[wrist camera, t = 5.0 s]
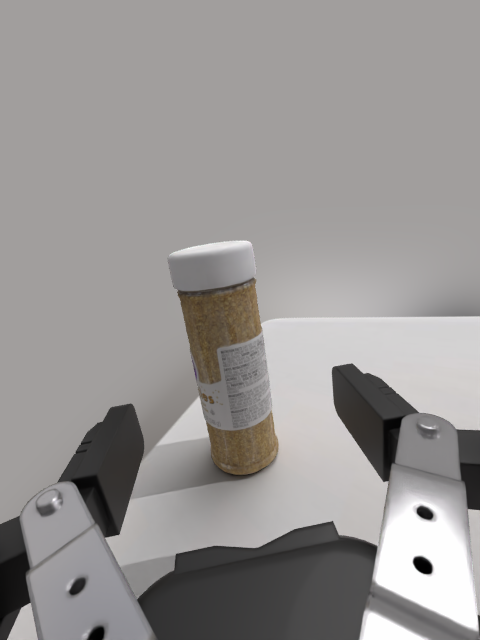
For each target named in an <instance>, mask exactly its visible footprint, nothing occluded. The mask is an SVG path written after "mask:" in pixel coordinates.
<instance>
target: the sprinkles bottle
mask: <svg viewBox="0 0 480 640" xmlns="http://www.w3.org/2000/svg"><path fill="white" fill-rule="evenodd" d="M168 264H169V269H170V274H171V278H172V283H173V287H174V288H175V289H177V290H178V292H177V293H178V296H179V298H180V301H181V307H182V311H183V315H184V321H185V325H186V331H187V334H188V339H189V343H190V352H191V357H192V362H193V367H194V371H195V376H196V381H197V385H198V390H199V395H200V400H201V404H202V409H203V414H204V418H205V420H206V423H207V428H208V433H209V438H210V442H211V456H212V459H213V461H214V463H215V464H216V465H217V466H218V467H219V468H220V469H222V470H223V471H224V472H226V473H231V474H235V475H245V474H250V473H254V472H257V471H259V470H261V469H262V468H264V467H266V466H267V465H269V464H270V463H271V462H272V461H273V459H274V458H275V457H276V455H277V452H278V439H277V436H276V434H275V431H274V422H273V415H272V399H271V391H270V383H269V375H268V368H267V360H266V353H265V345H264V338H263V330H262V327H261V323H260V316H259V310H258V304H257V295H256V289H255V283H256V279H255V278H254V276H255V275H256V264H255V257H254V252H253V246H252V244H251V243H250V242H249V241H226V242H219V243H211V244H206V245H200V246H195V247H190V248H186V249H182V250H180V251H176V252H173V253H171V254H170V255H169V256H168Z"/></svg>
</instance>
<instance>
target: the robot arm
mask: <svg viewBox="0 0 480 640" xmlns="http://www.w3.org/2000/svg"><path fill="white" fill-rule="evenodd" d="M332 381H333V397H334V405H335V409H336V412H337V414H338V416H339V418H340V419H341V420H342V422H343V423H344V425H345V426H346V428H347V429H348V431H349V432H350V434H351V435H352V437H353V438H354V439H355V441H356V442H357V444H358V445H359V447H360V448H361V450H362V451H363V453H364V454H365V456H366V457H367V458H368V460H369V461H370V463H371V464H372V466H373V467H374V469H375V470H376V472H377V473H378V475H379V476H380V478H381V479H382V480H383V482H385V481H389V483H388V489H387V495H386V501H385V507H384V513H383V519H382V525H381V531H380V537H379V542H378V546H376V545H374V544H372V543H369V542H367V541H364V540H361V539H358V538H355V537H349V536H342V535H338V532H337V530H336V527H335V525H334V523H333V521H332V522H327V523H322V524H317V525H313V526H308V527H303V528H298V529H294V530H292V531H290V532H288V533H287V534H285V535H283V536H281V537H279V538H277V539H275V540H273V541H271V542H269V543H267V544H265V545H263V546H261V547H259V548H241V547H226V546H212V547H207V548H202V549H198V550H193V551H188V552H183V553H178V554H176V559H175V569H174V571H172V572H170V573H168V574H166V575H165V576H163V577H162V578H160V579H159V580H158V581H156V582H155V583H154V584H153V585H151V586H150V587H149V588H148V589H147V590H146V591H145V592H144V593H143V594H142V595H141V596H140V597H139V598H138V599H136V597H135V595H134V593H133V592H132V590H131V588H130V586H129V584H128V582H127V580H126V578H125V576H124V574H123V572H122V570H121V568H120V566H119V564H118V563H117V561H116V559H115V557H114V555H113V553H112V551H111V549H110V547H109V545H108V543H107V541H106V539H105V537H110V536H115V535H119V534H120V531H121V527H122V524H123V521H124V517H125V514H126V510H127V507H128V504H129V500H130V497H131V494H132V490H133V487H134V483H135V480H136V477H137V473H138V470H139V466H140V463H141V460H142V456H143V453H144V439H143V435H142V432H141V428H140V425H139V421H138V418H137V415H136V412H135V408H134V406H133V405H132V404H126V405H121V406H115V407H111V408H110V409H109V411H108V413H107V415H106V417H105V419H104V420H103V422H100V423H97V424H96V425H95V426H94V427H93V428H92V429H91V430H90V431H88V432H87V434H86V435H85V437H84V439H83V441H82V442H81V445H79V447H78V449H77V451H76V454H74V456H73V457H72V459H71V461H70V462H69V464H68V466H67V467H66V469H65V470H64V472H63V474H62V475H61V477H60V479H59V481H58V482H57V483H56V484H53V485H51V486H49V487H47V488H45V489H43V490H42V491H40V492H39V493H37V494H36V495H35V496H34V497H33V498H32V499H30V500H29V501H28V502H27V504H26V505H25V506H24V508H23V509H22V511H21V514H20V516H18V517H16V518H14V519H11V520H9V521H7V522H5V523H2V524H0V640H7V638H8V636H9V634H10V632H11V629H12V627H13V625H14V623H15V620H16V618H17V616H18V614H19V612H20V609H21V607H23V606H25V605H27V604H29V603H31V606H32V611H33V616H34V621H35V626H36V631H37V636H38V640H480V616H479V615H477V605H476V594H475V583H474V573H473V562H472V551H471V541H470V530H469V519H468V509H474V510H480V431H479V430H457V429H455V427H454V426H453V425H452V424H451V423H450V422H448V421H447V420H445V419H443V418H441V417H438V416H435V415H432V414H426V413H419V412H418V411H417V410H416V409H414V408H413V407H412V406H411V405H410V404H409V403H408V402H407V401H405V400H404V399H403V398H402V397H401V396H400V395H399V394H396V392H395V391H394V390H393V389H392V388H391V387H389V386H388V385H387V384H386V383H385V382H384V381H383V380H382V379H380V378H378V377H376V376H374V375H371V374H369V373H366V374H363V373H362V372H361V371H360V370H359V369H358V368H357V367H356V366H355V365H353V364H346V365H340V366H335V367H333V368H332Z"/></svg>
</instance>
